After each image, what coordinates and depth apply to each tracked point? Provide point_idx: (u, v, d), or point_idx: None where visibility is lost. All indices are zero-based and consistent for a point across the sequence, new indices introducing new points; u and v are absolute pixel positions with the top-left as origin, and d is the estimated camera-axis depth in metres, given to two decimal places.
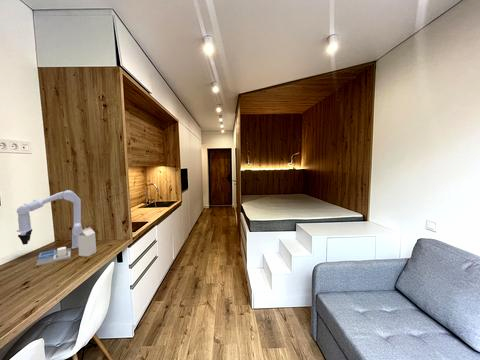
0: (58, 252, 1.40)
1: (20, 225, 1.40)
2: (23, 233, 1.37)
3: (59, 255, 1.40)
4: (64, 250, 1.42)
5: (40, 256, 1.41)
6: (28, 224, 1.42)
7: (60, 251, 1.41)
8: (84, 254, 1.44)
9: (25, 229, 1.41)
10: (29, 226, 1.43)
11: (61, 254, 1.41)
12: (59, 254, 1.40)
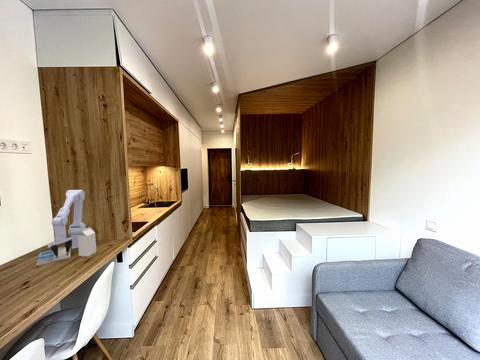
0: (58, 252, 1.40)
1: (55, 236, 1.40)
2: (48, 245, 1.35)
3: (59, 255, 1.40)
4: (64, 250, 1.42)
5: (40, 256, 1.41)
6: (59, 236, 1.39)
7: (60, 251, 1.41)
8: (84, 254, 1.44)
9: (56, 241, 1.39)
10: (60, 239, 1.40)
11: (61, 254, 1.41)
12: (59, 254, 1.40)
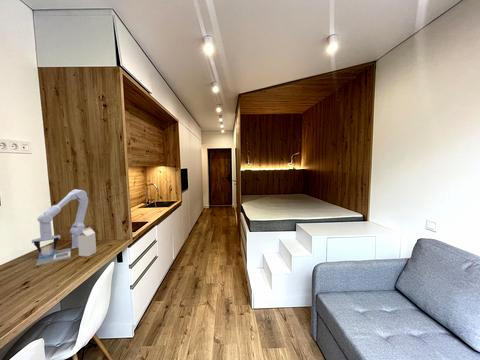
0: (42, 250, 1.43)
1: None
2: None
3: (43, 253, 1.43)
4: (47, 249, 1.43)
5: (40, 256, 1.41)
6: (41, 234, 1.42)
7: (43, 249, 1.43)
8: (84, 254, 1.44)
9: None
10: (42, 236, 1.42)
11: (45, 253, 1.43)
12: (43, 252, 1.43)
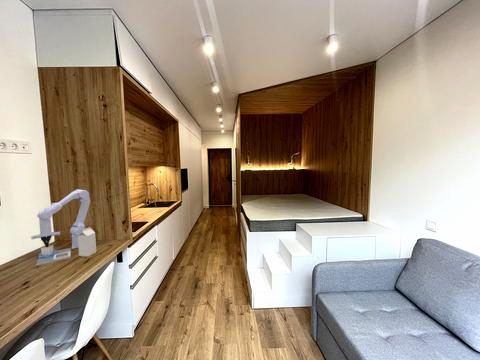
0: (42, 250, 1.43)
1: None
2: (31, 237, 1.40)
3: (43, 253, 1.43)
4: (47, 249, 1.43)
5: (40, 256, 1.41)
6: (41, 230, 1.41)
7: (43, 249, 1.43)
8: (84, 254, 1.44)
9: (40, 234, 1.42)
10: (42, 232, 1.42)
11: (45, 253, 1.43)
12: (43, 252, 1.43)
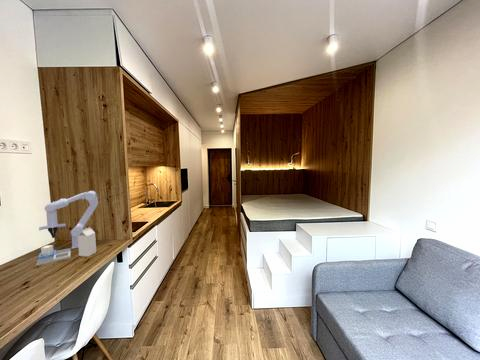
0: (42, 250, 1.43)
1: None
2: (39, 228, 1.49)
3: (43, 253, 1.43)
4: (47, 249, 1.43)
5: (40, 256, 1.41)
6: (48, 221, 1.51)
7: (43, 249, 1.43)
8: (84, 254, 1.44)
9: (47, 225, 1.52)
10: (49, 223, 1.51)
11: (45, 253, 1.43)
12: (43, 252, 1.43)
